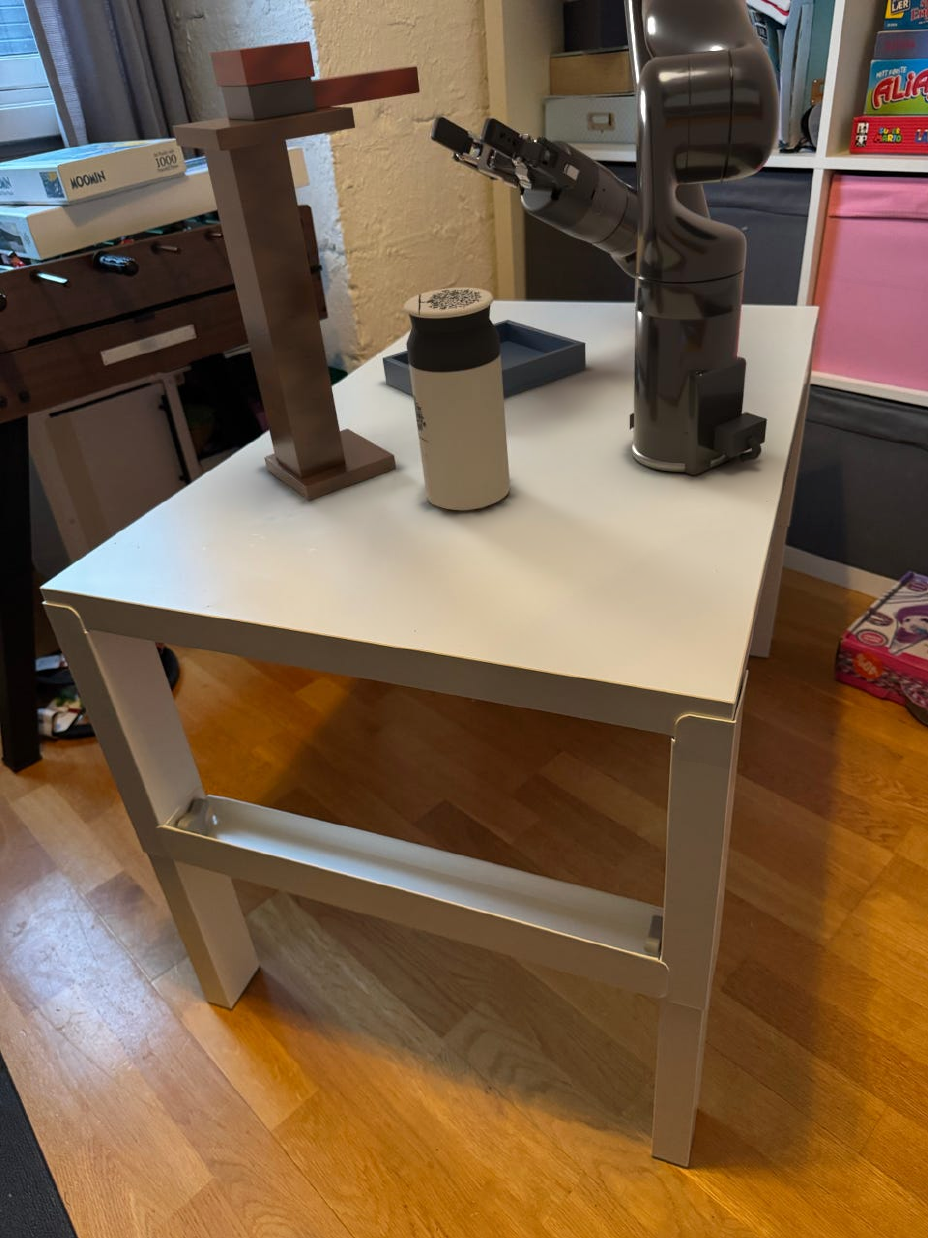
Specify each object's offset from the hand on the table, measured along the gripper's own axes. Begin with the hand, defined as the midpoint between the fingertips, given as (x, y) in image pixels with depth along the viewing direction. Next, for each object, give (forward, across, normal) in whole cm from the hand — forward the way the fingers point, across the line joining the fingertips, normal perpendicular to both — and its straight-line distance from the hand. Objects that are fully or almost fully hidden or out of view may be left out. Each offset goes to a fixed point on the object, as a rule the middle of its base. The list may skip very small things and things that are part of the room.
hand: (458, 127), depth 83 cm
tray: (-21, -10, +21) cm, 31 cm away
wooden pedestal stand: (+3, 0, +35) cm, 35 cm away
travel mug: (-4, +15, +31) cm, 35 cm away
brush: (+13, 0, +4) cm, 14 cm away
